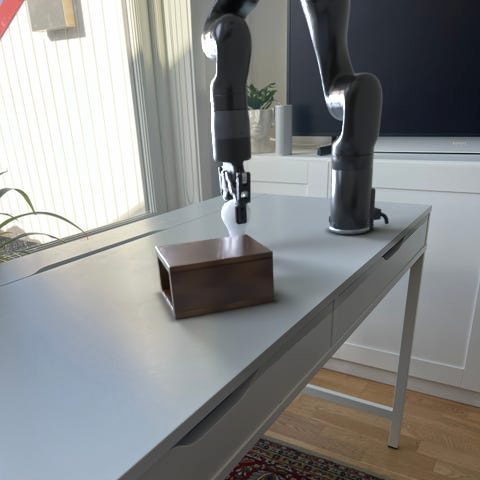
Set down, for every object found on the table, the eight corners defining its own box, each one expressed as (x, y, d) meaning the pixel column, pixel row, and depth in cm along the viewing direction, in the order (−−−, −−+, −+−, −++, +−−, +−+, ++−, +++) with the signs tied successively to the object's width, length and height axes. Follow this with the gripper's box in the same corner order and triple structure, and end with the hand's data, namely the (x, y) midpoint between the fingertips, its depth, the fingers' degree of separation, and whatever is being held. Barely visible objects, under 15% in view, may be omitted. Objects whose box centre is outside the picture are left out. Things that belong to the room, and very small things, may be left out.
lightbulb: (223, 248, 106) (219, 197, 101) (250, 245, 106) (248, 195, 102) (224, 255, 100) (221, 203, 96) (253, 253, 101) (251, 200, 96)
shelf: (248, 278, 86) (246, 234, 83) (274, 301, 76) (272, 251, 73) (161, 293, 82) (155, 246, 79) (175, 319, 72) (169, 267, 68)
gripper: (262, 135, 88) (265, 225, 95) (237, 132, 101) (242, 212, 108) (223, 138, 86) (229, 230, 93) (203, 135, 99) (209, 216, 106)
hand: (236, 220), depth 100 cm, fingers closed on lightbulb, 6 cm apart
